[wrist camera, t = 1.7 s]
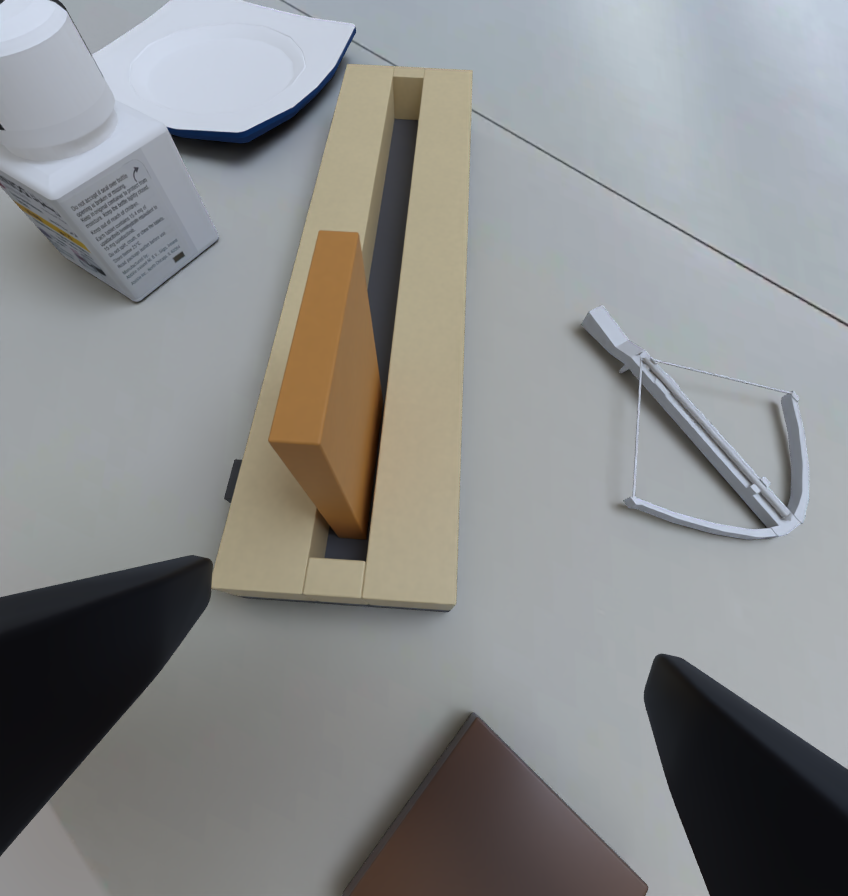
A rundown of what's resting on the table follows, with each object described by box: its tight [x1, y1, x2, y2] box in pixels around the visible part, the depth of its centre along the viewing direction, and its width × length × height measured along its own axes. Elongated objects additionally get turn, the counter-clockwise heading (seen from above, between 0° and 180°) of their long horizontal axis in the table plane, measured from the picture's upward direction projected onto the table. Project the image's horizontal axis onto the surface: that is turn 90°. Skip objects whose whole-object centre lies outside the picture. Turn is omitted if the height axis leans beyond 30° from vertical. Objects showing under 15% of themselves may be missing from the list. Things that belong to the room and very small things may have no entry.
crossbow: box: [581, 305, 809, 540], centre depth 25 cm, size 16×13×2 cm
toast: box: [268, 230, 383, 539], centre depth 18 cm, size 8×1×11 cm, turn 176°
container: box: [0, 0, 219, 301], centre depth 25 cm, size 8×8×13 cm
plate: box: [92, 0, 356, 143], centre depth 38 cm, size 20×20×3 cm
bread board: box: [342, 712, 648, 896], centre depth 16 cm, size 8×8×2 cm
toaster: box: [211, 64, 473, 612], centre depth 27 cm, size 40×11×4 cm, turn 176°
